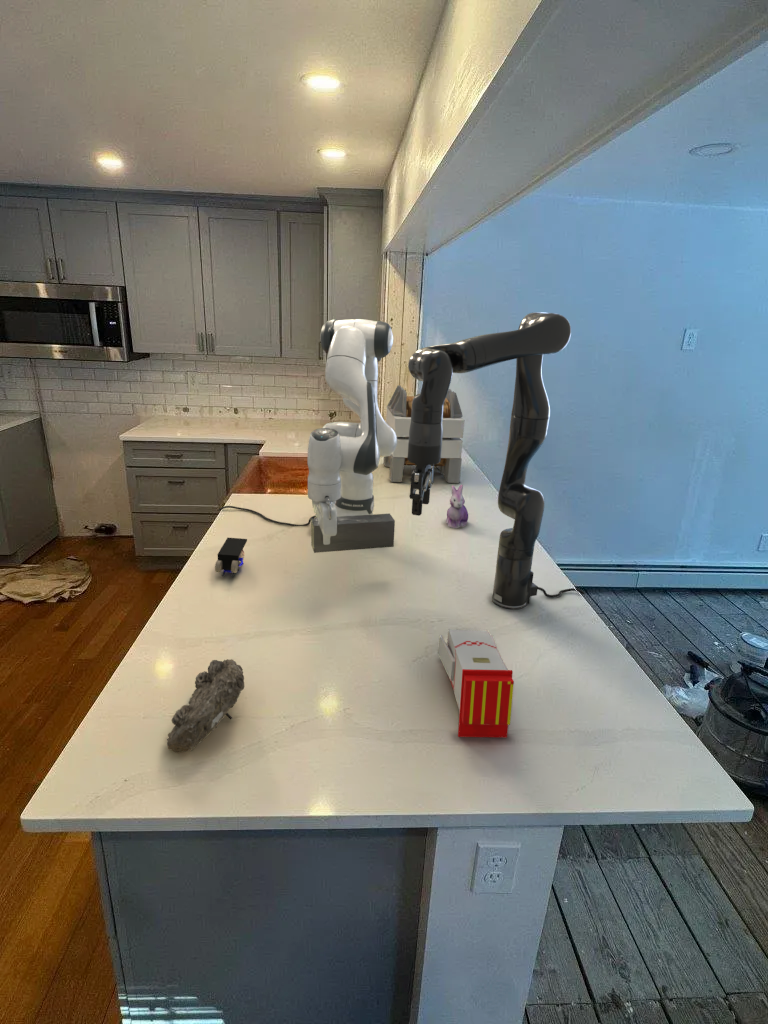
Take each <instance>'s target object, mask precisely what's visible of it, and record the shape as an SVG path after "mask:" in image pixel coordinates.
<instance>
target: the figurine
mask: <svg viewBox="0 0 768 1024" xmlns="http://www.w3.org/2000/svg"><path fill="white" fill-rule="evenodd" d="M463 490H464V485H463V484H460V485H459V487H457V488H456V487H455V485H451V487H450V491H451V496H450V499H449V504H450V507H449V508H447V510H446V519H445V524H446V525H447V527H449V528H452V529H453V528H454V529H459V528H464V527H466V525H468V520H469V513H468V509H467V507H466V506H465V503H466V501H465V497H464V494H463Z"/></svg>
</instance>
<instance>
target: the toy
mask: <svg viewBox="0 0 768 1024" xmlns="http://www.w3.org/2000/svg"><path fill="white" fill-rule="evenodd" d="M446 640H447V643H446V641H445V639H444V636H443V635H442V634H439V637H438V646H437V656H438V657H439V659H440V661H441V663H442V666H443V668H444V670H445V672H446V674H447V677H448V679H449V681H450V684H451V687H452V690H453V693H454V697H455V701H456V705H457V708H458V711H459V714H458V715H459V716H458V730H457V731H458V732H457V737H458V738H508V731H509V726H510V725H511V717H512V707H513V697H514V696H513V695H514V684H515V680H514V679H513V673H514V671H513V670H512V669H508V667H507V665H506V662H505V661H504V659H503V658H502V655H501V653H500V651H499V649H498V647H497V643H496V639H495V637H494V635H493V634H491V632H490V631H489V629H467V628H466V629H465V628H463V629H461V628H460V629H459V628H448V630H447V639H446Z"/></svg>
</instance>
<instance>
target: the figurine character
mask: <svg viewBox="0 0 768 1024" xmlns="http://www.w3.org/2000/svg"><path fill="white" fill-rule="evenodd" d="M247 542H248V538H240V537H226V539H225V541H224V543H223V544H222V546H221V547H220V549H219V551H218V552H217V560H216V562H215V564H214V572H215V573H221V577H222V578H224V577H225V576H226V574H227V573H230V574H231V573H232V574H231V578H234V577H235V575H236V573H237V572H239V571H240V567H242V566H243V565H244V564H245V562H244V558H245V551H244V547H245V546H246V544H247Z"/></svg>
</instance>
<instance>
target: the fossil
mask: <svg viewBox="0 0 768 1024" xmlns="http://www.w3.org/2000/svg"><path fill="white" fill-rule="evenodd" d="M243 670H244V669H243V667H242V665H240V664H237V662H236V661H235V660H234V659H232V658H231V659H227V658H226V659H224V660H223V661H222V660H217V659H212V660H211V661H210V663H209V665H208V666H207V671H201V672H199V673H198V674H197V675H196V676H195V680H194V684H195V685H194V687H195V689H194V690H193V693H192V694H191V697H190V698H189V700H188V704H184V705H182V706H181V707H180V709H177V710H176V711H175V713H174V715H173V716H172V718H171V723H172V724H173V727H172V730H171V731H170V732H168V734H167V738H166V741H167V742H166V745H167V749H168V750H169V751H173V752H174V753H176V754H178V753H182V752H188V751H189V752H192V751H193V750H195V748H196V747H197V746H199V744H200V743H201V742H203V741H204V740H205V739H206V738H207V737H208V736H209V735H210V734H211V733H212V732H214V730H215V729H217V727H218V726H219V724H220V722H221V721H222V720H223V719H224V718H225V716H226V717H227V719H229V720H233V717H232V715H230V714H229V710H230V709H231V708H234V706H235V704H236V703H237V702H238V699H239V697H240V695H241V693H242V691H243V690H245V689H244V688H245V675H244V671H243Z"/></svg>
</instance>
